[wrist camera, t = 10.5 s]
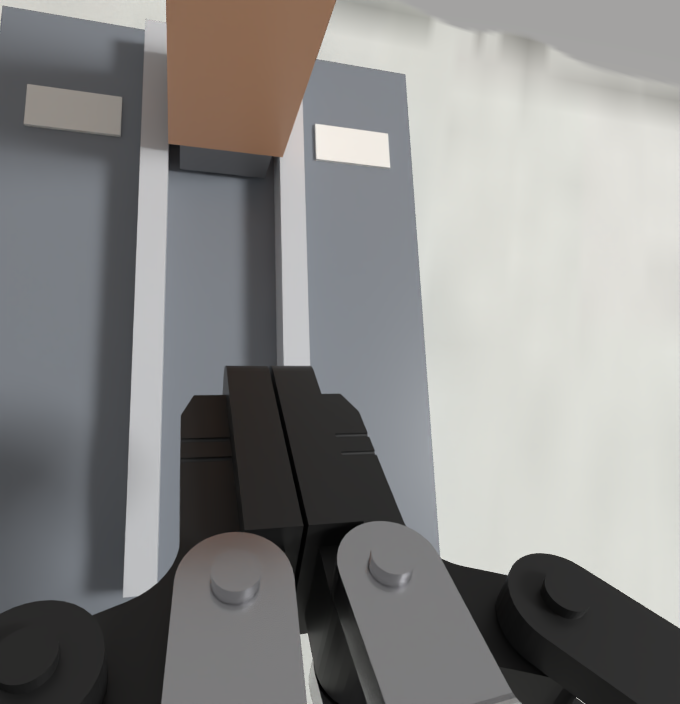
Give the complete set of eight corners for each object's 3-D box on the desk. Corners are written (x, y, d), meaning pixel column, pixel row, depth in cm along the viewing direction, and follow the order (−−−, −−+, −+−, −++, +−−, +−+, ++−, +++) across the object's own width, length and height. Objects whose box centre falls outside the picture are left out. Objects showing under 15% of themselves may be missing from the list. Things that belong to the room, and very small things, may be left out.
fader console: (-30, 610, 14) (-81, 643, 11) (20, 56, 18) (-9, -25, 15) (413, 569, 18) (458, 587, 15) (384, 110, 21) (417, 53, 18)
